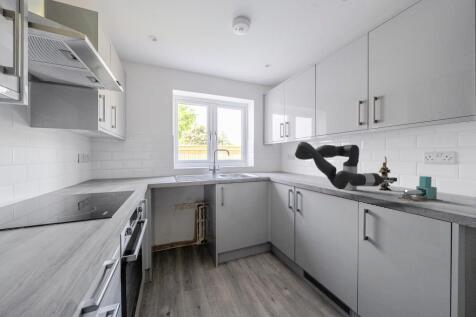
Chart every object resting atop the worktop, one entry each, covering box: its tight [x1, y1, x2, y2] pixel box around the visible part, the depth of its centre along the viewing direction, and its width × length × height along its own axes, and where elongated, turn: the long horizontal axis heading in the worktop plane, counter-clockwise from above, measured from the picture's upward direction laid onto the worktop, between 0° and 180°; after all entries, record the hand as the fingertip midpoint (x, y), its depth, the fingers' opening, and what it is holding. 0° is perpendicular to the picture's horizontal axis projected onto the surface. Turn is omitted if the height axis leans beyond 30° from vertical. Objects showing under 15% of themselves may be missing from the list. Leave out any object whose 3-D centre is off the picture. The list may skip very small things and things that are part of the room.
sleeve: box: [415, 175, 434, 199], centre depth 111 cm, size 4×6×12 cm, turn 7°
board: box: [397, 196, 443, 202], centre depth 111 cm, size 20×8×1 cm, turn 97°
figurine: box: [378, 156, 392, 192], centre depth 142 cm, size 6×10×25 cm
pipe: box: [401, 186, 438, 200], centre depth 111 cm, size 18×4×7 cm, turn 97°
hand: (395, 179), depth 109 cm, fingers closed
